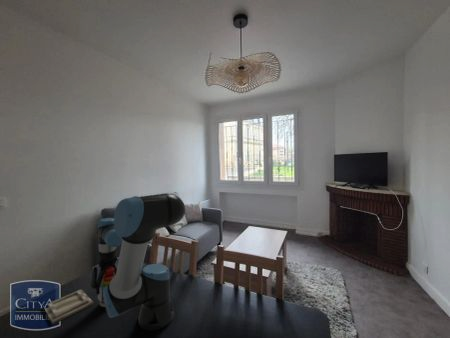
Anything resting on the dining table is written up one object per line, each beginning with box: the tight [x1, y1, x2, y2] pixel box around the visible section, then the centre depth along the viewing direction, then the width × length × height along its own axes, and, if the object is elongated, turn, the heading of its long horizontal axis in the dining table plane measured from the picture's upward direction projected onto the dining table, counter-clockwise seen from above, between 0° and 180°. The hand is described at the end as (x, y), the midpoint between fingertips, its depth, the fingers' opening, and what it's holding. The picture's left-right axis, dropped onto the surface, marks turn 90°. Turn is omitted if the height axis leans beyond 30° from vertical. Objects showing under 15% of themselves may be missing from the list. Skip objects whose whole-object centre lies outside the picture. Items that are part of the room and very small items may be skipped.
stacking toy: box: [98, 266, 115, 308], centre depth 103 cm, size 8×8×19 cm
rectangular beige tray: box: [42, 289, 94, 326], centre depth 101 cm, size 16×16×2 cm
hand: (108, 295), depth 103 cm, fingers closed on stacking toy, 7 cm apart
